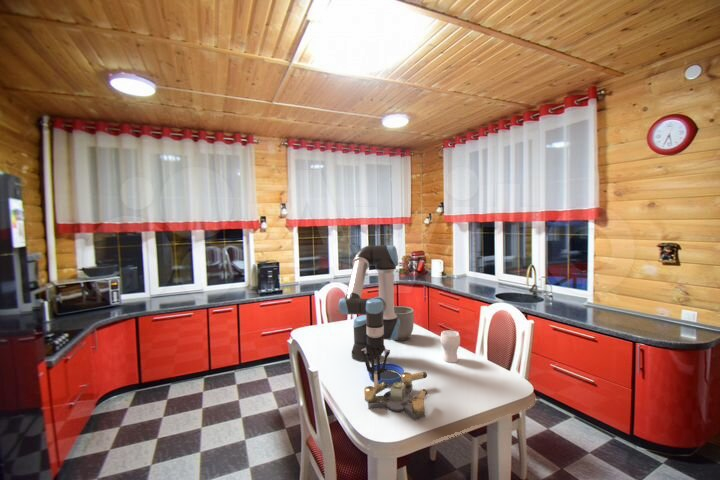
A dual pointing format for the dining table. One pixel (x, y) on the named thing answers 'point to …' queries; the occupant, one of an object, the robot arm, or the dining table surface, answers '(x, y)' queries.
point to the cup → (450, 345)
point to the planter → (404, 321)
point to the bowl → (389, 373)
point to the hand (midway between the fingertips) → (376, 386)
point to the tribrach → (397, 400)
